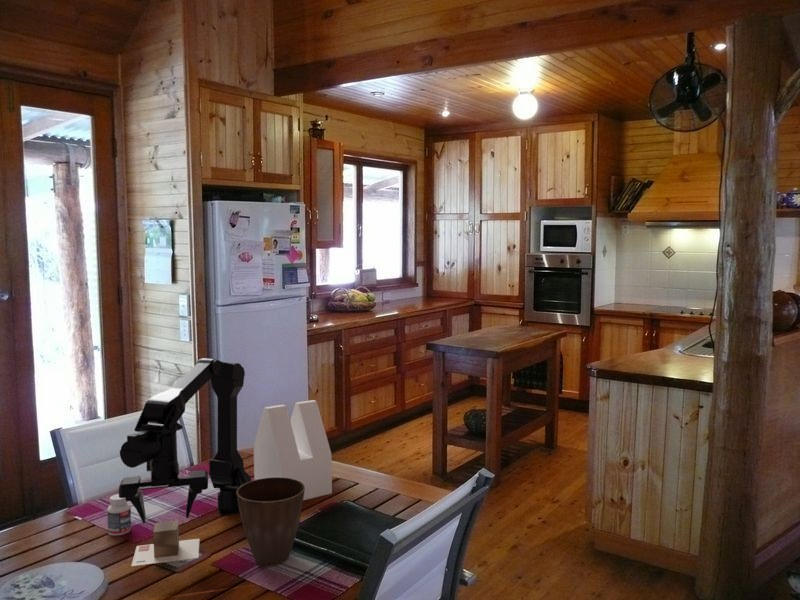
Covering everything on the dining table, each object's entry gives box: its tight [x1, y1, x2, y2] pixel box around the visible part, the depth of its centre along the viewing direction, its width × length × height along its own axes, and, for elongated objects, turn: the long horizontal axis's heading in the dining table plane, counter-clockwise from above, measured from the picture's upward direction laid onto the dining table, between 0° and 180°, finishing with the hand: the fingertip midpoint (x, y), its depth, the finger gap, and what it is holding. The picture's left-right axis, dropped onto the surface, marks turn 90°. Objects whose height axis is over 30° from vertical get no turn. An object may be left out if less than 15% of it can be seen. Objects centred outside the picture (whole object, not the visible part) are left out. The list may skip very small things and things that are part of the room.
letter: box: [130, 538, 200, 567], centre depth 148 cm, size 14×10×1 cm
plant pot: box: [237, 477, 305, 567], centre depth 145 cm, size 15×15×16 cm
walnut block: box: [152, 520, 180, 558], centre depth 147 cm, size 5×5×6 cm
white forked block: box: [253, 399, 333, 501], centre depth 186 cm, size 19×15×25 cm
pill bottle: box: [106, 493, 132, 536], centre depth 159 cm, size 5×5×9 cm
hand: (166, 520), depth 147 cm, fingers open, 9 cm apart
